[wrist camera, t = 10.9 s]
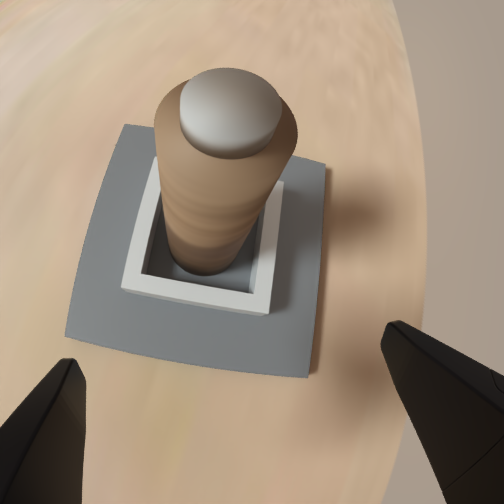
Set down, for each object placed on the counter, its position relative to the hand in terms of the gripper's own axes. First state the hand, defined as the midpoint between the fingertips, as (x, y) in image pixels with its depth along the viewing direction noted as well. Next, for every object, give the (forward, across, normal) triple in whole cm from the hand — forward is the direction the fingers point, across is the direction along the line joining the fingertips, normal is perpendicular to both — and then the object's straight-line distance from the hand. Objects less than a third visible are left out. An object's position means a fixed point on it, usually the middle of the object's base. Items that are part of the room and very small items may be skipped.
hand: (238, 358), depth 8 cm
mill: (+13, 0, +3) cm, 13 cm away
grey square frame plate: (+14, 0, +4) cm, 14 cm away
